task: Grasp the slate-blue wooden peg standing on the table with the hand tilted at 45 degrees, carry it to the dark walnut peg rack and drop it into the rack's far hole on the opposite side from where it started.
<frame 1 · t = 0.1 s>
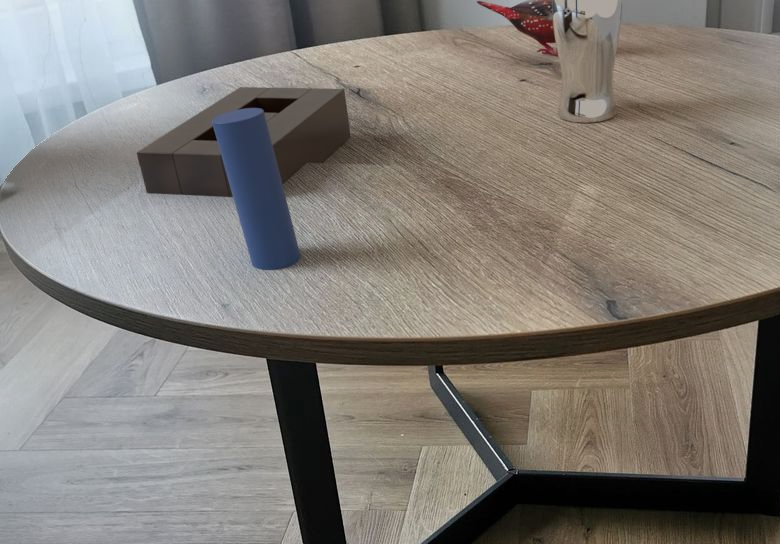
peg rack: (257, 168, 92), on the table
decorative bird figurine: (539, 56, 124), on the table
blue peg: (279, 272, 72), on the table, tilted 5°
beer glass: (587, 115, 102), on the table
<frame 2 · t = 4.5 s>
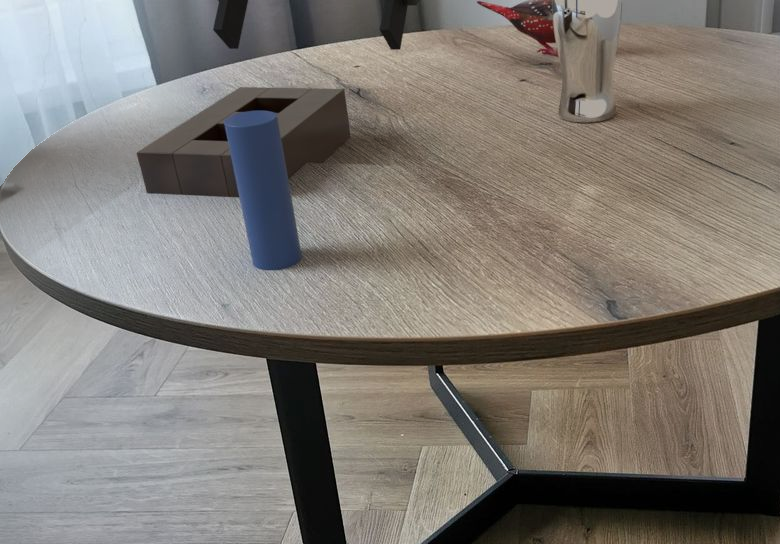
hand: (306, 40, 73), 15 cm above the table, tool tilted 45°, fingers open, 13 cm apart
blue peg: (280, 274, 72), on the table
everything else where it was.
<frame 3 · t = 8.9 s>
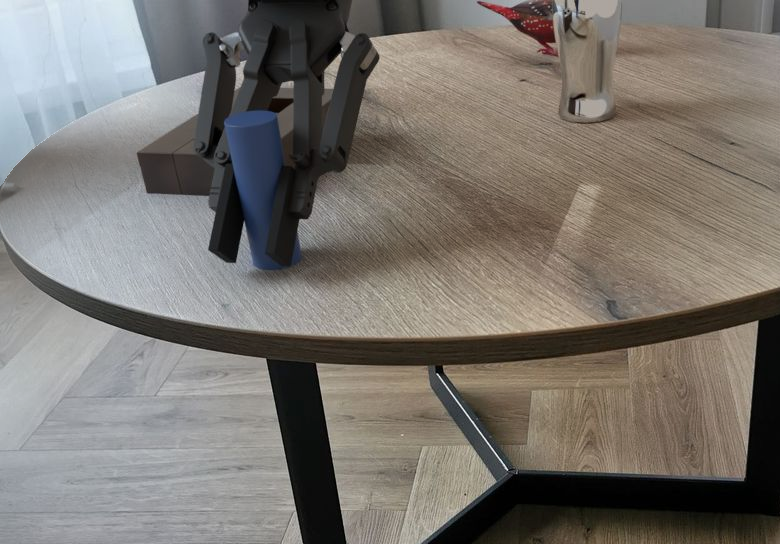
hand: (249, 257, 67), 3 cm above the table, tool tilted 45°, fingers closed on blue peg, 4 cm apart
blue peg: (280, 274, 72), on the table, touching gripper
everything else where it was.
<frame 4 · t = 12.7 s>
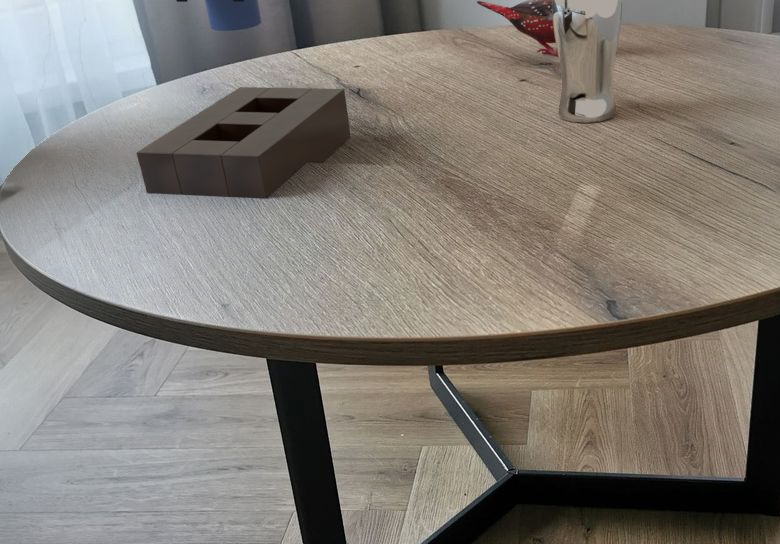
blue peg: (236, 25, 69), point 17 cm above the table, touching gripper
everything else where it was.
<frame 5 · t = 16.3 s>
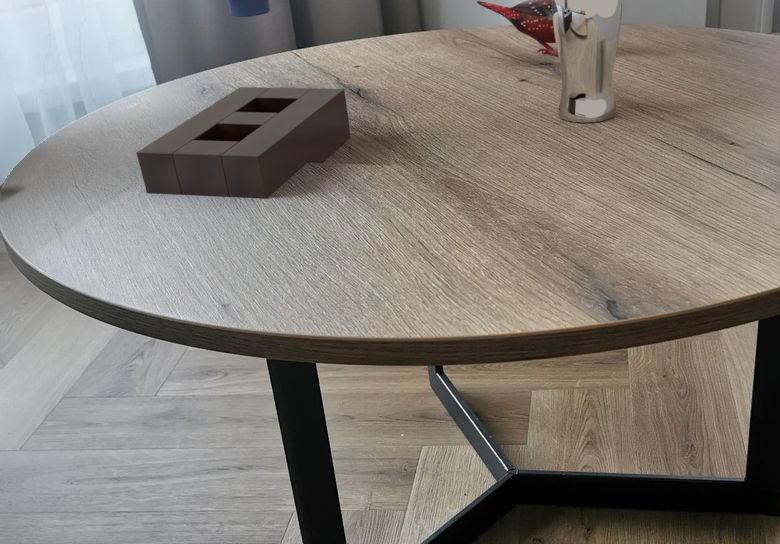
blue peg: (250, 12, 88), point 14 cm above the table, touching gripper
everything else where it was.
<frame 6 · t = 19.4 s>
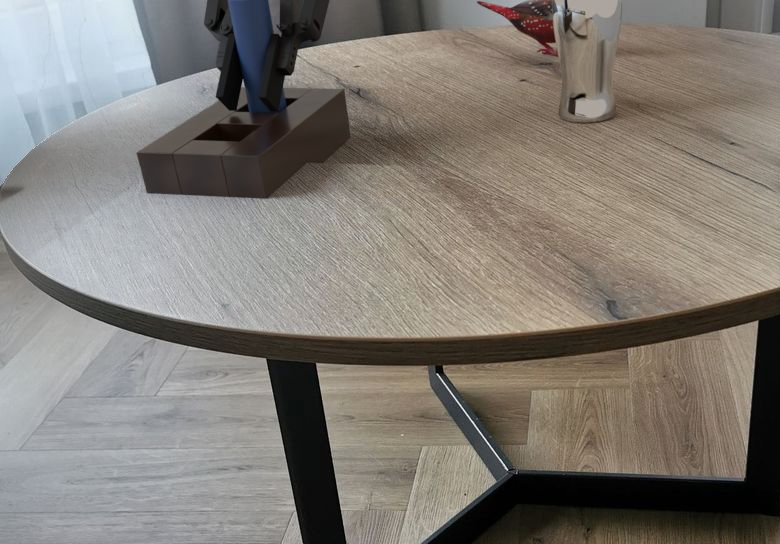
hand: (247, 103, 89), 6 cm above the table, tool tilted 45°, fingers closed on blue peg, 4 cm apart
blue peg: (270, 124, 94), point 3 cm above the table, touching gripper
everything else where it was.
when the fingers open (9 cm above the table, at t = 24.0 s): blue peg drops 5 cm, resting in peg rack.
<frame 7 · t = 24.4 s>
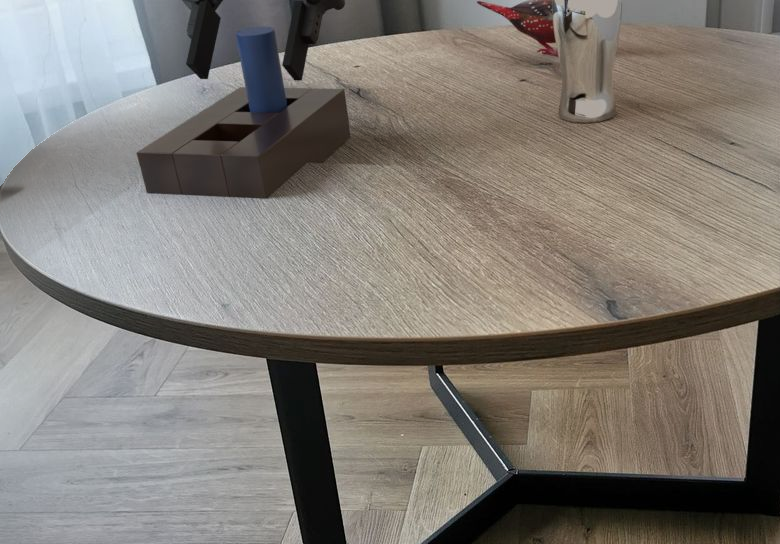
hand: (244, 72, 88), 9 cm above the table, tool tilted 45°, fingers open, 9 cm apart
blue peg: (277, 154, 96), resting in peg rack
everything else where it was.
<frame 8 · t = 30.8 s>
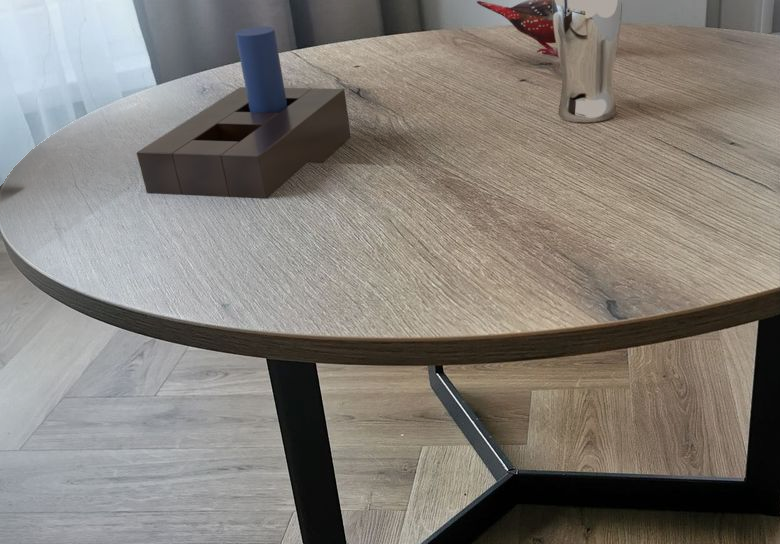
nothing on the table moved.
at the end: blue peg 0.1 cm from the target spot in the peg rack, point 0.0 cm above the peg rack's base; blue peg tilted 0°; the gripper is holding nothing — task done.
